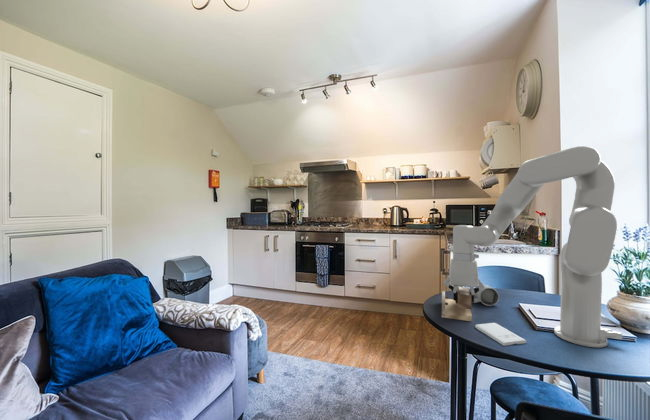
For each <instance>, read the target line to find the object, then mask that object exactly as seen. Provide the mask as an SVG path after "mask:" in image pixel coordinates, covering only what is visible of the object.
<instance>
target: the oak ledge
mask: <svg viewBox="0 0 650 420" xmlns="http://www.w3.org/2000/svg"><path fill="white" fill-rule="evenodd" d="M471 310H472V309H471ZM471 310H470V309H461V308H458V304H457V303H456V302H455V300H454V298H453V299H452V298H449V297H448V295H446V291H445V290H442V291H441V318H443V319H444V318H446V319H452V320H458V321H467V322H472V321H473V315H472V311H471Z"/></svg>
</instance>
